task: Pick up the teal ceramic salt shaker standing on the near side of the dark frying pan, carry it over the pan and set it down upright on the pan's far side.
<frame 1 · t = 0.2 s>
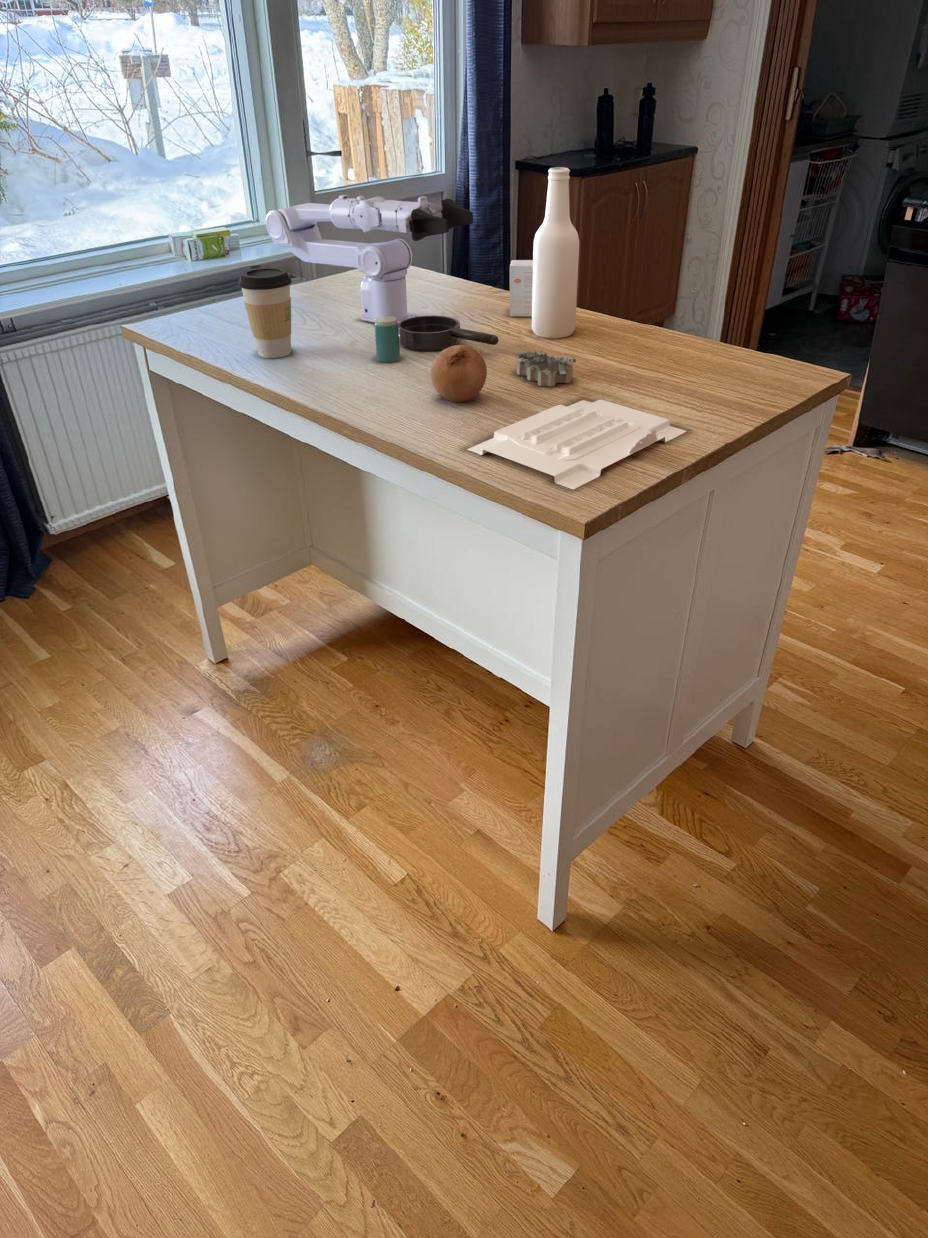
hand: (459, 222, 170), 21 cm above the countertop, tool horizontal, fingers open, 7 cm apart
salt shaker: (388, 358, 170), on the countertop
egg carton: (543, 378, 160), on the countertop
alcohol: (553, 333, 182), on the countertop
small box: (528, 314, 194), on the countertop
tray: (578, 441, 136), on the countertop
coffee cup: (275, 353, 174), on the countertop
onion: (459, 399, 151), on the countertop
pan: (429, 342, 178), on the countertop
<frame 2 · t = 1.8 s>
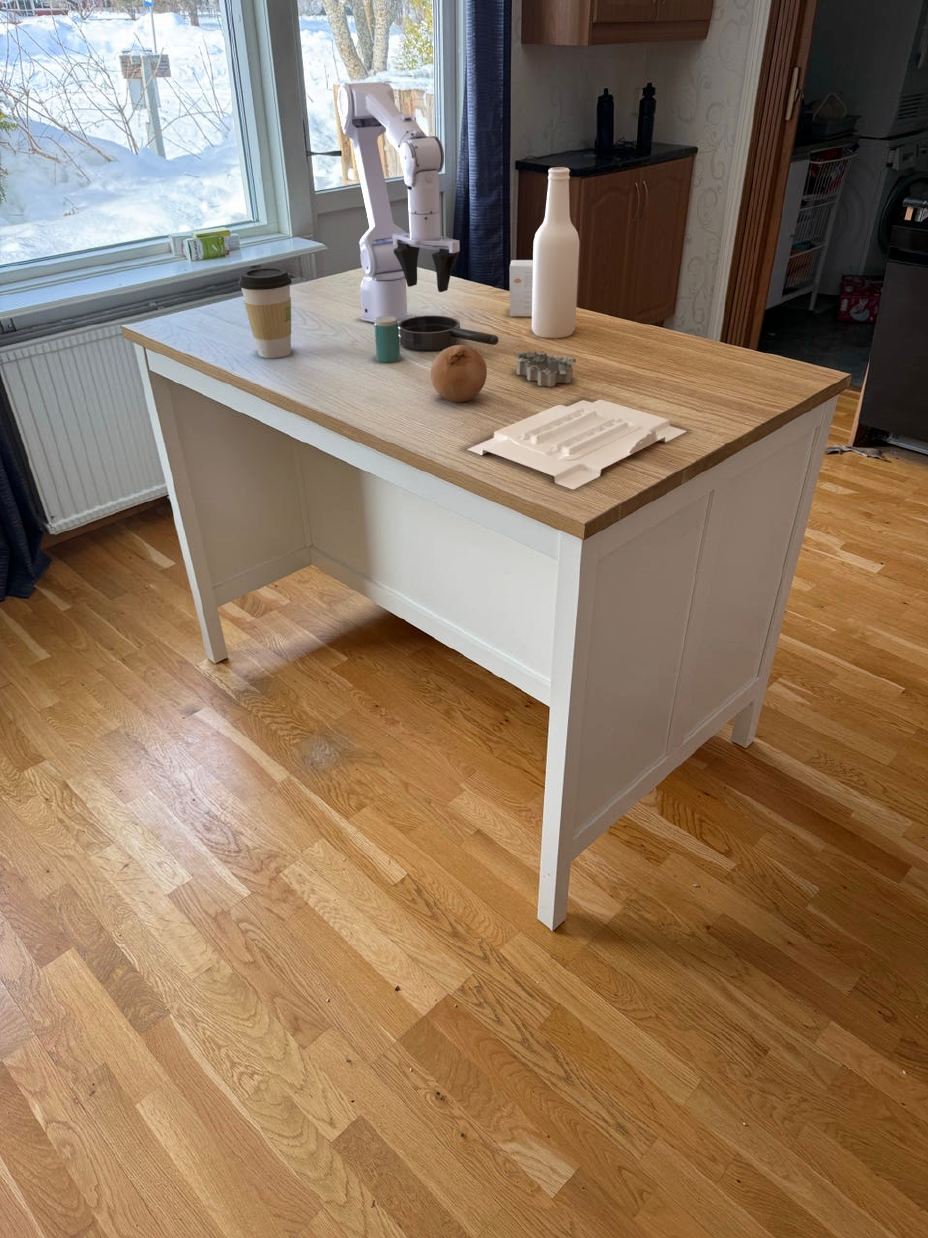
hand: (427, 288, 172), 10 cm above the countertop, tool pointing down, fingers open, 7 cm apart
nothing on the countertop moved.
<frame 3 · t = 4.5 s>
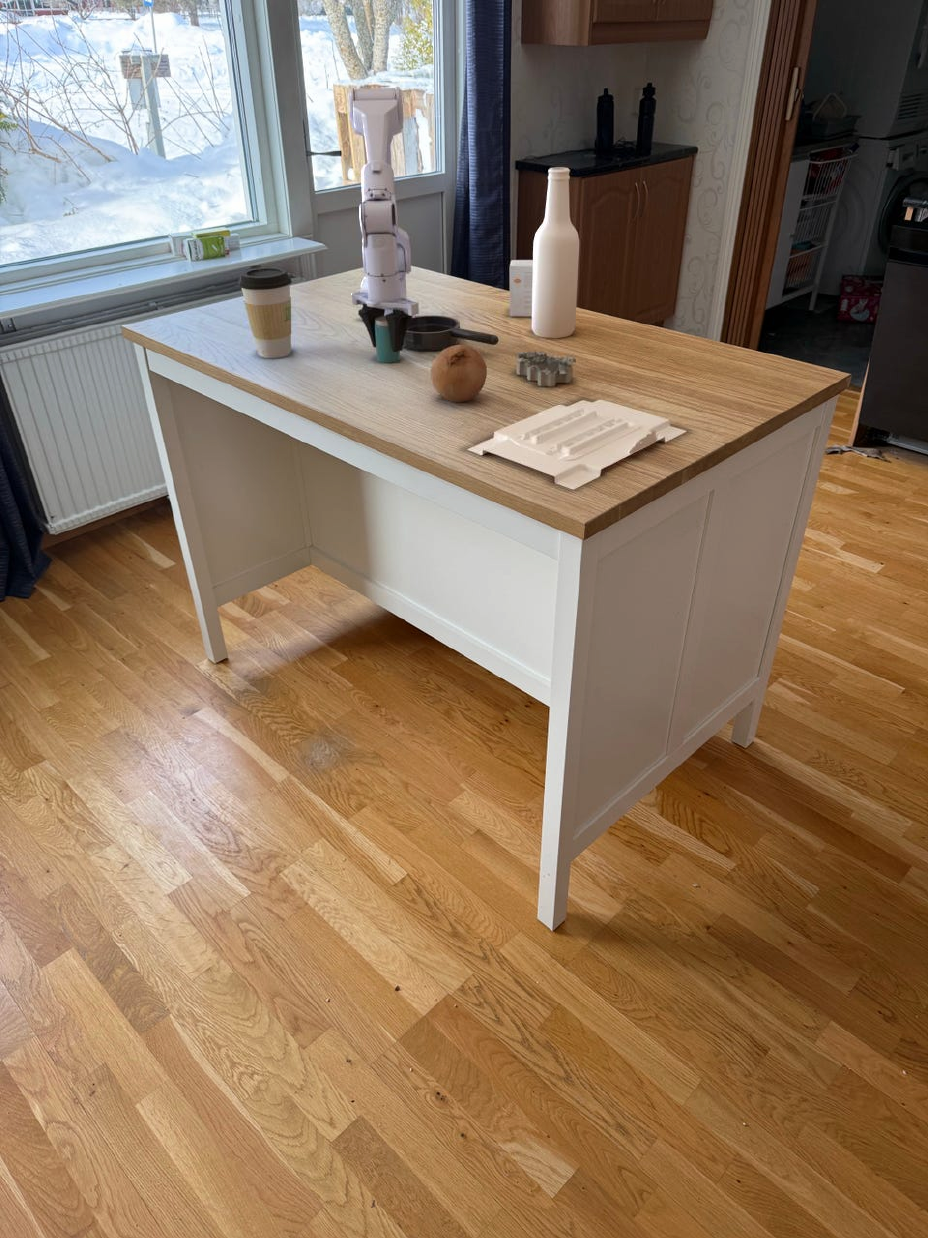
hand: (387, 348, 169), 2 cm above the countertop, tool pointing down, fingers closed on salt shaker, 4 cm apart
salt shaker: (388, 358, 170), on the countertop, touching gripper
everything else where it was.
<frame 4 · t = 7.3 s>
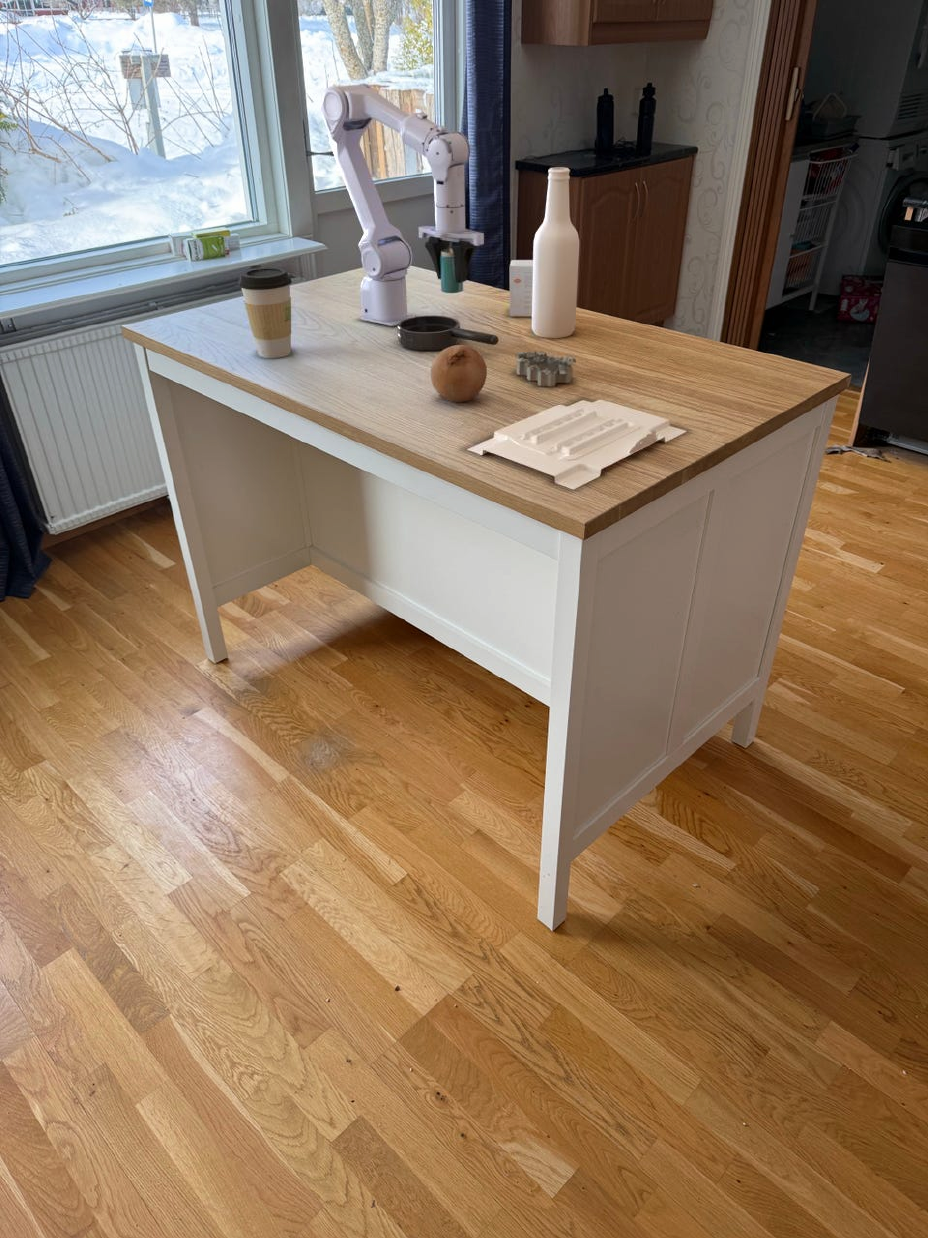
hand: (451, 279, 177), 10 cm above the countertop, tool pointing down, fingers closed on salt shaker, 4 cm apart
salt shaker: (452, 290, 178), point 8 cm above the countertop, touching gripper
everything else where it was.
when the fingers open (2 cm above the countertop, at t = 10.2 s): salt shaker stays where it is, on the countertop.
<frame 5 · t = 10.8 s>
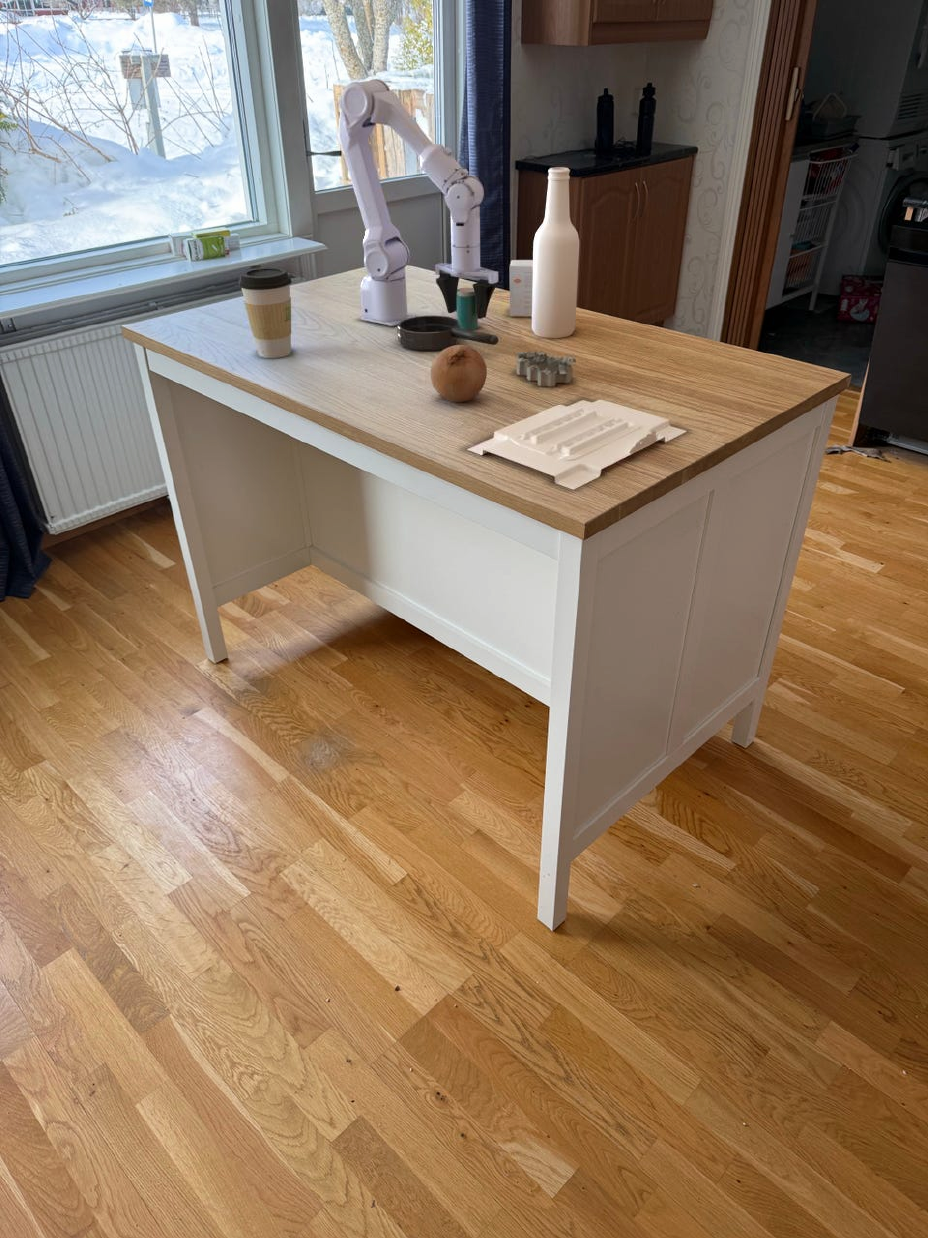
hand: (466, 314, 185), 3 cm above the countertop, tool pointing down, fingers open, 7 cm apart
salt shaker: (467, 327, 186), on the countertop
everything else where it was.
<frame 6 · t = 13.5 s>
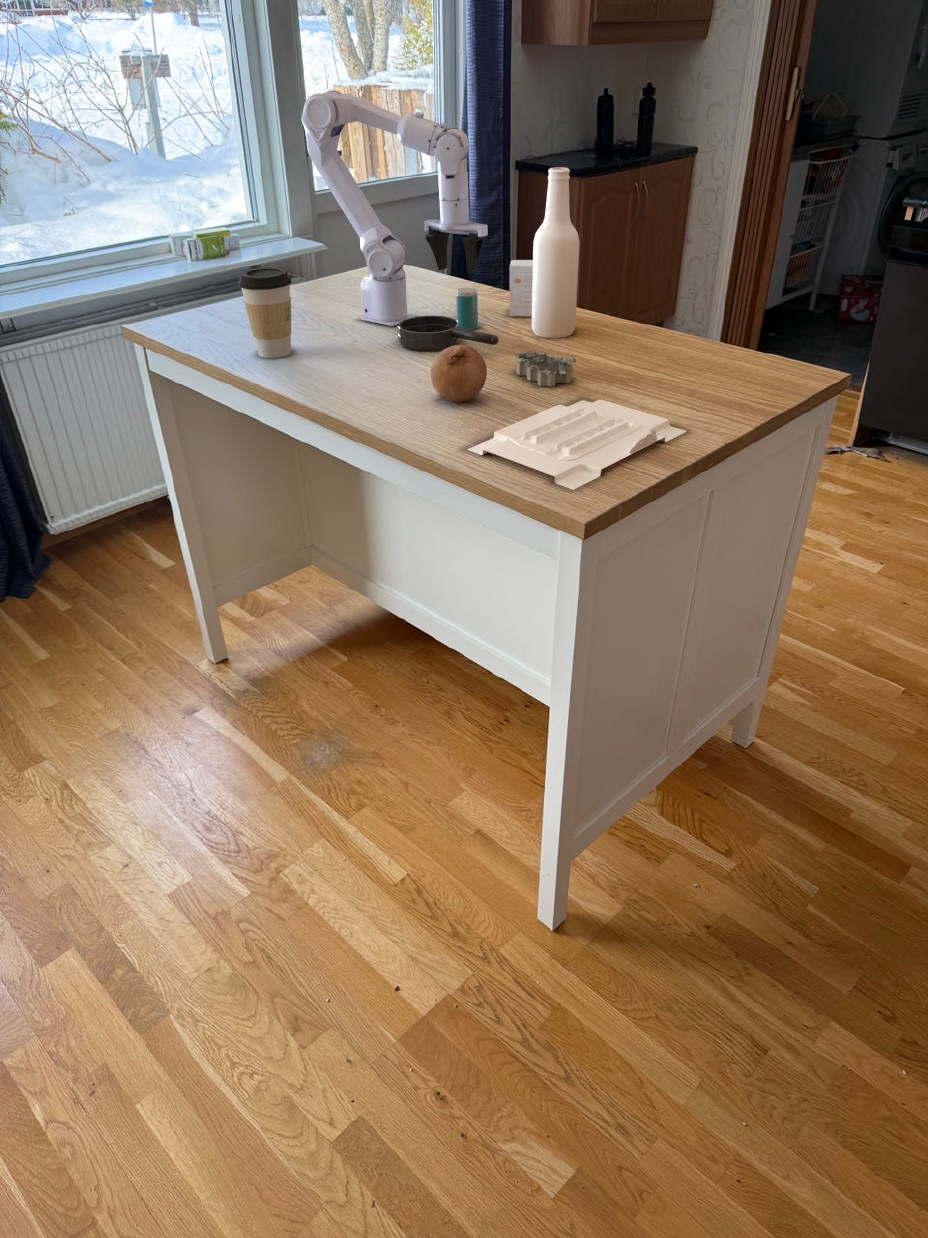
hand: (457, 271, 183), 10 cm above the countertop, tool pointing down, fingers open, 7 cm apart
nothing on the countertop moved.
at the end: salt shaker inside the target area on the countertop beside the pan (0.3 cm from its centre), on the countertop; salt shaker tilted 0°; the gripper is holding nothing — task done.
